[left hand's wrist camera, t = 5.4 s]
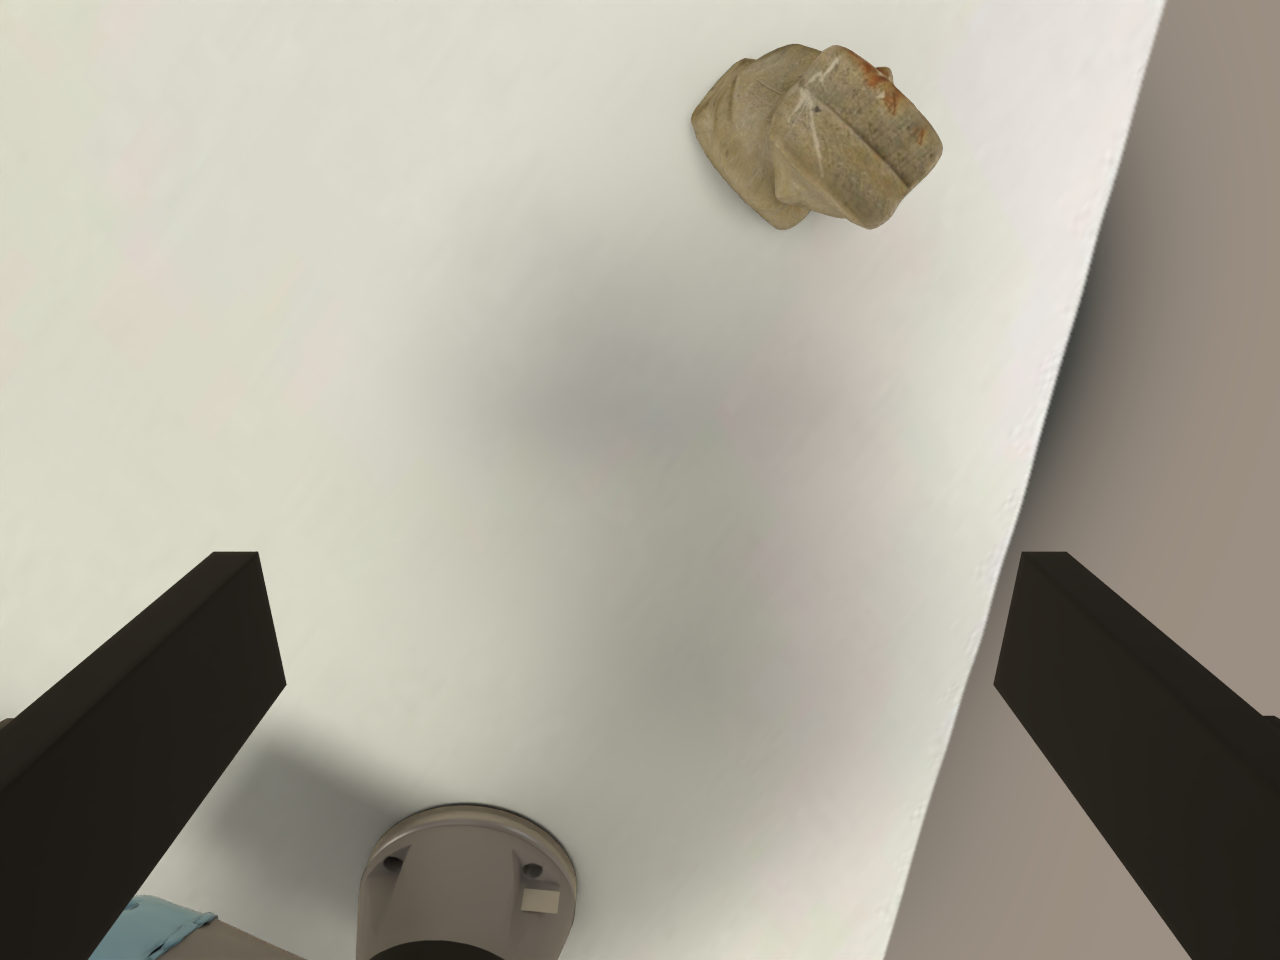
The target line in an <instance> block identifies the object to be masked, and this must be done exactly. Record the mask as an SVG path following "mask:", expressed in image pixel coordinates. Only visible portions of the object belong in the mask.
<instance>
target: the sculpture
mask: <svg viewBox="0 0 1280 960" xmlns="http://www.w3.org/2000/svg"><path fill="white" fill-rule="evenodd" d="M691 123H692V126H693V129H694V131H695V134H696V138H697V140H698V141H699V143H700V145H701V147H702V149H703V150H704V152H705V154H706V156H707V157H708V158H709V160H710V161H711V163H712V164H713V166H714V167H715V168H716V169H717V171H718V172H719V173H720V174H721V175H722V177H723V178H724V179H725V180H726V181H727V182H728V184H729V185H730V186H731V187H732V188H733V189H734V190H735V191H736V192H737V193H738V194H739V196H740V197H741V198H742V199H743V200H744V202H745V203H747V204H748V205H749V206H751V207H752V208H753V209H754V210H755V211H756V212H757V213H758V214H760V215H761V216H762V217H763V218H764V219H765V220H766V221H768V222H769V223H770V224H771V225H773V226H774V227H775V228H777V229H782V230H786V229H789V228H792V227H793V226H795V225H797V224H798V223H799V222H800V221H802V220H803V219H804V218H805V217H806V216H807V214H808V213H809V211H810V210H812V211H815V212H819V213H822V214H825V215H829V216H832V217H837V218H846V219H848V220H849V221H851V222H852V223H855V224H857V225H859V226H861V227H864V228H866V229H874V228H877V227H879V226H880V225H882V224H883V223H885V222H886V221H887V220H889V218H890V217H891V216H892V215H893V213H894V212H895V210H896V208H897V207H898V205H899V203H900V202H901V201H902V200H903V198H904V197H905V196H906V195H907V194H908V193H909V192H910V191H911V190H912V189H913V188H914V187H915V186H916V185H917V184H918V183H920V182H921V181H922V180H923V179H924V178H925V177H926V176H927V175H928V174H929V172H930V171H931V170H932V169H933V168H934V167H935V165H936V164H937V162H938V160H939V159H940V157H941V155H942V150H943V146H942V143H941V140H940V138H939V136H938V135H937V133H936V131H935V130H934V128H933V127H932V125H931V124H930V123H929V122H928V120H927V119H926V118H925V117H924V116H923V115H922V114H921V113H920V111H919V110H918V109H917V108H916V107H915V105H914V104H913V103H912V102H911V101H910V100H909V99H908V98H907V97H906V96H905V95H903V94H902V93H901V92H900V91H899V90H898V89H897V88H896V87H895V86H894V84H893V76H892V72H891V70H890V68H888V67H877V68H875V67H874V66H872V65H871V64H870V63H869V62H867V61H866V60H864V59H863V58H861V57H860V56H858V55H857V54H855V53H854V52H853V51H851V50H849V49H847V48H845V47H842V46H838V45H833V46H831V47H829V48H827V49H826V50H824V51H823V52H822V51H819V50H816V49H813V48H810V47H806V46H803V45H800V44H791V45H786V46H783V47H781V48H778V49H775V50H773V51H771V52H769V53H767V54H765V55H764V56H762V57H760V58H759V59H757V60H755V59H747V58H744V59H742V60H740V61H739V62H736V63H735V64H734V65H733V66H732V67H731V68H730V69H729V70H728V71H727V72H726V73H725V74H724V75H723V76H722V77H721V78H720V79H719V80H718V81H717V82H716V84H715V85H714V86H713V87H712V88H711V90H710V91H709V92H708V93H707V95H706V96H705V97H704V99H703V100H702V101H701V102H700V104H699V105H698V106H697V108H696V109H695V110H694V112H693V114H692V118H691Z"/></svg>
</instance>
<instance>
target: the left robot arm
mask: <svg viewBox="0 0 1280 960" xmlns="http://www.w3.org/2000/svg"><path fill="white" fill-rule="evenodd" d="M286 685H287V684H286V680H285V675H284V670H283V666H282V661H281V656H280V652H279V647H278V642H277V638H276V633H275V628H274V624H273V619H272V614H271V610H270V605H269V600H268V596H267V591H266V586H265V582H264V577H263V572H262V568H261V563H260V558H259V554H258V552H213V553H211V554H210V555H209V556H208V557H207V558H205V559H204V560H203V561H202V562H201V563H199V564H198V565H197V566H196V567H195V568H194V569H192V570H191V571H190V572H189V573H188V574H186V575H185V576H184V577H183V578H182V579H180V580H179V581H178V582H177V583H176V584H174V585H173V586H172V587H171V588H170V589H168V590H167V591H166V592H165V593H164V594H162V595H161V596H160V597H159V598H158V599H156V600H155V601H154V602H153V603H152V604H150V605H149V606H148V607H147V608H146V609H145V610H143V611H142V612H141V613H140V614H139V615H137V616H136V617H135V618H134V619H133V620H131V621H130V622H129V623H128V624H127V625H125V626H124V627H123V628H122V629H121V630H119V631H118V632H117V633H116V634H115V635H113V636H112V637H111V638H110V639H109V640H107V641H106V642H105V643H104V644H103V645H101V646H100V647H99V648H98V649H97V650H95V651H94V652H93V653H92V654H91V655H90V656H88V657H87V658H86V659H85V660H84V661H82V662H81V663H80V664H79V665H78V666H76V667H75V668H74V669H73V670H72V671H70V672H69V673H68V674H67V675H66V676H64V677H63V678H62V679H61V680H60V681H58V682H57V683H56V684H55V685H54V686H52V687H51V688H50V689H49V690H48V691H46V692H45V693H44V694H43V695H42V696H41V697H39V698H38V699H37V700H36V701H35V702H33V703H32V704H31V705H30V706H29V707H27V708H26V709H25V710H24V711H23V712H21V713H20V714H19V715H18V716H17V717H15V718H7V719H5V720H3V721H1V722H0V960H306V959H304V958H301V957H299V956H297V955H294V954H292V953H290V952H288V951H285V950H283V949H281V948H278V947H276V946H274V945H272V944H269V943H267V942H265V941H263V940H261V939H259V938H256V937H254V936H252V935H250V934H248V933H246V932H244V931H241V930H239V929H237V928H235V927H233V926H231V925H229V924H226V923H224V922H222V921H220V920H218V916H217V915H215V914H214V913H210V912H208V913H204V914H202V913H200V912H197V911H194V910H191V909H188V908H185V907H182V906H180V905H177V904H174V903H171V902H169V901H166V900H164V899H161V898H158V897H155V896H149V895H139V896H134V895H135V894H136V893H137V891H138V890H139V888H140V887H141V886H142V884H143V883H144V881H145V880H146V879H147V877H148V876H149V875H150V873H151V872H152V870H153V869H154V868H155V866H156V865H157V863H158V862H159V861H160V859H161V858H162V857H163V855H164V854H165V852H166V851H167V850H168V848H169V847H170V845H171V844H172V843H173V841H174V840H175V839H176V837H177V836H178V834H179V833H180V832H181V830H182V829H183V827H184V826H185V825H186V823H187V822H188V820H189V819H190V818H191V816H192V815H193V814H194V812H195V811H196V809H197V808H198V807H199V805H200V804H201V802H202V801H203V800H204V798H205V797H206V796H207V794H208V793H209V791H210V790H211V789H212V787H213V786H214V784H215V783H216V782H217V780H218V779H219V778H220V776H221V775H222V773H223V772H224V771H225V769H226V768H227V766H228V765H229V764H230V762H231V761H232V760H233V758H234V757H235V755H236V754H237V753H238V751H239V750H240V748H241V747H242V746H243V744H244V743H245V742H246V740H247V739H248V737H249V736H250V735H251V733H252V732H253V730H254V729H255V728H256V726H257V725H258V724H259V722H260V721H261V719H262V718H263V717H264V715H265V714H266V712H267V711H268V710H269V708H270V707H271V706H272V704H273V703H274V701H275V700H276V699H277V697H278V696H279V694H280V693H281V692H282V690H283V689H284V687H285V686H286ZM994 686H995V687H996V689H997V690H998V692H999V693H1000V694H1001V696H1002V697H1003V699H1004V700H1005V701H1006V703H1007V704H1008V705H1009V707H1010V708H1011V710H1012V711H1013V712H1014V714H1015V715H1016V717H1017V718H1018V719H1019V721H1020V722H1021V723H1022V725H1023V726H1024V728H1025V729H1026V730H1027V732H1028V733H1029V735H1030V736H1031V737H1032V739H1033V740H1034V742H1035V743H1036V744H1037V746H1038V747H1039V748H1040V750H1041V751H1042V753H1043V754H1044V755H1045V757H1046V758H1047V760H1048V761H1049V762H1050V764H1051V765H1052V766H1053V768H1054V769H1055V771H1056V772H1057V773H1058V775H1059V776H1060V778H1061V779H1062V780H1063V782H1064V783H1065V784H1066V786H1067V787H1068V789H1069V790H1070V791H1071V793H1072V794H1073V796H1074V797H1075V798H1076V800H1077V801H1078V802H1079V804H1080V805H1081V807H1082V808H1083V809H1084V811H1085V812H1086V814H1087V815H1088V816H1089V818H1090V819H1091V820H1092V822H1093V823H1094V825H1095V826H1096V827H1097V829H1098V830H1099V832H1100V833H1101V834H1102V836H1103V837H1104V838H1105V840H1106V841H1107V843H1108V844H1109V845H1110V847H1111V848H1112V850H1113V851H1114V852H1115V854H1116V855H1117V857H1118V858H1119V859H1120V861H1121V862H1122V863H1123V865H1124V866H1125V868H1126V869H1127V870H1128V872H1129V873H1130V875H1131V876H1132V877H1133V879H1134V880H1135V881H1136V883H1137V884H1138V886H1139V887H1140V888H1141V890H1142V891H1143V893H1144V894H1145V895H1146V897H1147V898H1148V899H1149V901H1150V902H1151V904H1152V905H1153V906H1154V908H1155V909H1156V910H1157V912H1158V913H1159V915H1160V916H1161V917H1162V919H1163V920H1164V922H1165V923H1166V924H1167V926H1168V927H1169V929H1170V930H1171V931H1172V933H1173V934H1174V935H1175V937H1176V938H1177V940H1178V941H1179V942H1180V944H1181V945H1182V947H1183V948H1184V949H1185V951H1186V952H1187V954H1188V955H1189V956H1190V958H1191V959H1192V960H1280V719H1279V718H1277V717H1275V716H1262V715H1261V714H1260V713H1259V712H1257V711H1256V710H1255V709H1254V708H1253V707H1251V706H1250V705H1249V704H1248V703H1247V702H1245V701H1244V700H1243V699H1242V698H1241V697H1239V696H1238V695H1237V694H1236V693H1235V692H1234V691H1232V690H1231V689H1230V688H1229V687H1228V686H1226V685H1225V684H1224V683H1223V682H1222V681H1220V680H1219V679H1218V678H1217V677H1216V676H1214V675H1213V674H1212V673H1211V672H1210V671H1208V670H1207V669H1206V668H1205V667H1204V666H1202V665H1201V664H1200V663H1199V662H1198V661H1196V660H1195V659H1194V658H1193V657H1192V656H1190V655H1189V654H1188V653H1187V652H1186V651H1185V650H1183V649H1182V648H1181V647H1180V646H1179V645H1177V644H1176V643H1175V642H1174V641H1173V640H1171V639H1170V638H1169V637H1168V636H1167V635H1165V634H1164V633H1163V632H1162V631H1161V630H1159V629H1158V628H1157V627H1156V626H1155V625H1153V624H1152V623H1151V622H1150V621H1149V620H1147V619H1146V618H1145V617H1144V616H1143V615H1141V614H1140V613H1139V612H1138V611H1137V610H1135V609H1134V608H1133V607H1132V606H1131V605H1130V604H1128V603H1127V602H1126V601H1125V600H1124V599H1122V598H1121V597H1120V596H1119V595H1118V594H1116V593H1115V592H1114V591H1113V590H1112V589H1110V588H1109V587H1108V586H1107V585H1106V584H1104V583H1103V582H1102V581H1101V580H1100V579H1098V578H1097V577H1096V576H1095V575H1094V574H1092V573H1091V572H1090V571H1089V570H1088V569H1086V568H1085V567H1084V566H1083V565H1082V564H1080V563H1079V562H1078V561H1077V560H1076V559H1075V558H1073V557H1072V556H1071V555H1070V554H1069V553H1067V552H1022V554H1021V558H1020V563H1019V568H1018V572H1017V577H1016V582H1015V586H1014V591H1013V596H1012V600H1011V605H1010V610H1009V614H1008V619H1007V624H1006V628H1005V633H1004V638H1003V642H1002V647H1001V652H1000V656H999V661H998V666H997V670H996V675H995V680H994ZM576 894H577V882H576V876H575V872H574V869H573V866H572V864H571V861H570V859H569V858H568V856H567V854H566V853H565V851H564V850H563V849H562V847H561V846H560V845H559V844H558V843H557V842H556V841H555V840H554V839H553V838H552V837H551V836H550V835H549V834H548V833H546V832H545V831H544V830H542V829H541V828H540V827H538V826H536V825H535V824H533V823H531V822H529V821H527V820H525V819H524V818H521V817H519V816H516V815H514V814H511V813H508V812H505V811H502V810H498V809H494V808H488V807H482V806H471V805H456V806H445V807H438V808H434V809H430V810H426V811H423V812H420V813H417V814H415V815H412V816H410V817H408V818H406V819H404V820H402V821H401V822H399V823H398V824H396V825H395V826H393V827H392V828H391V829H390V830H389V831H387V832H386V833H385V834H384V836H383V837H382V838H381V839H380V840H379V842H378V843H377V844H376V846H375V848H374V850H373V851H372V854H371V856H370V859H369V861H368V864H367V866H366V869H365V871H364V874H363V876H362V879H361V883H360V891H359V900H358V923H357V945H356V960H558V957H559V955H560V953H561V951H562V948H563V946H564V944H565V942H566V940H567V937H568V935H569V932H570V929H571V927H572V924H573V920H574V915H575V905H576Z"/></svg>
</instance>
